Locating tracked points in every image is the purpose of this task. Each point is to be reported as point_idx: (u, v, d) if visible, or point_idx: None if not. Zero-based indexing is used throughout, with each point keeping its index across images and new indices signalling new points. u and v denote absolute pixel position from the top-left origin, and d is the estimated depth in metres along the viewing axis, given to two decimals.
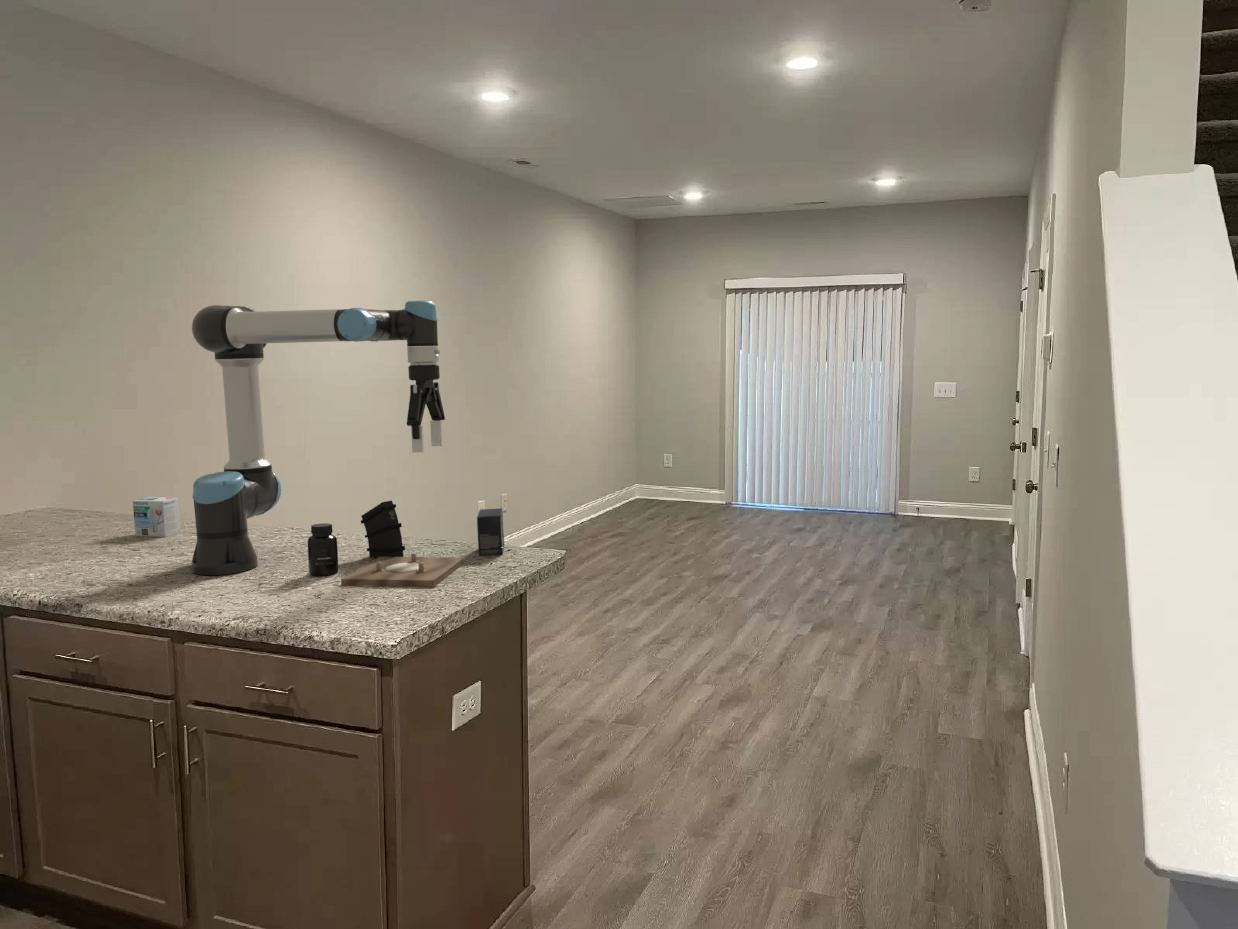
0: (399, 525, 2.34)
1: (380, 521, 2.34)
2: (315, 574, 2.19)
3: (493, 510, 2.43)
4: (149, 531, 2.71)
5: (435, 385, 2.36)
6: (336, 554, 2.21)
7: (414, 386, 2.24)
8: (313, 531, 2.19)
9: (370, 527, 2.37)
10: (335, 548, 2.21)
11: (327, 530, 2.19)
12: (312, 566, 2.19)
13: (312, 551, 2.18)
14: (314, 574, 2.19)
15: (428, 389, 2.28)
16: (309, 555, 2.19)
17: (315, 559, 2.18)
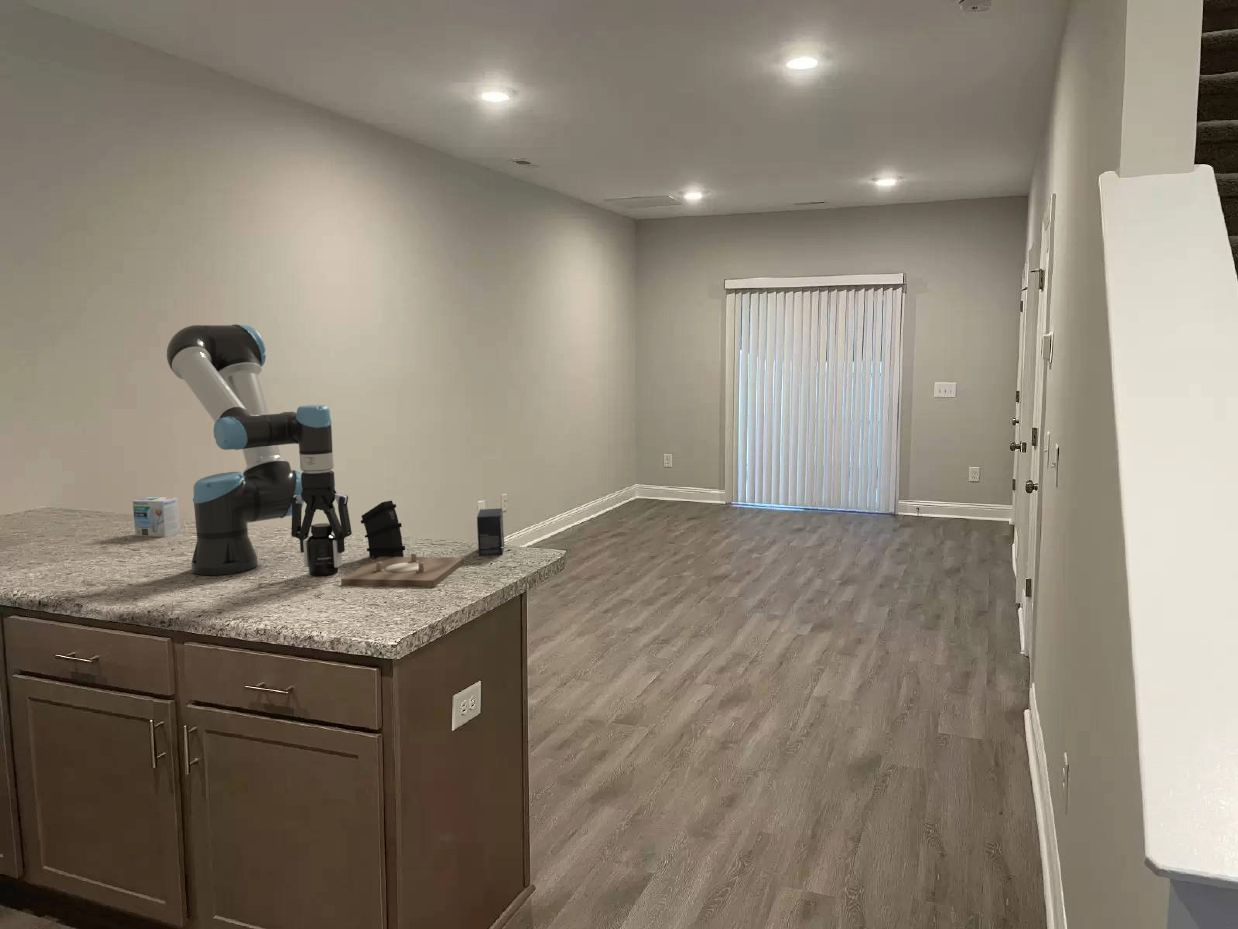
0: (399, 525, 2.34)
1: (380, 521, 2.34)
2: (315, 574, 2.19)
3: (493, 510, 2.43)
4: (149, 531, 2.71)
5: None
6: None
7: None
8: (313, 531, 2.19)
9: (371, 527, 2.37)
10: None
11: (327, 530, 2.19)
12: (312, 566, 2.19)
13: (312, 551, 2.18)
14: (314, 574, 2.19)
15: None
16: (309, 555, 2.19)
17: (315, 559, 2.18)
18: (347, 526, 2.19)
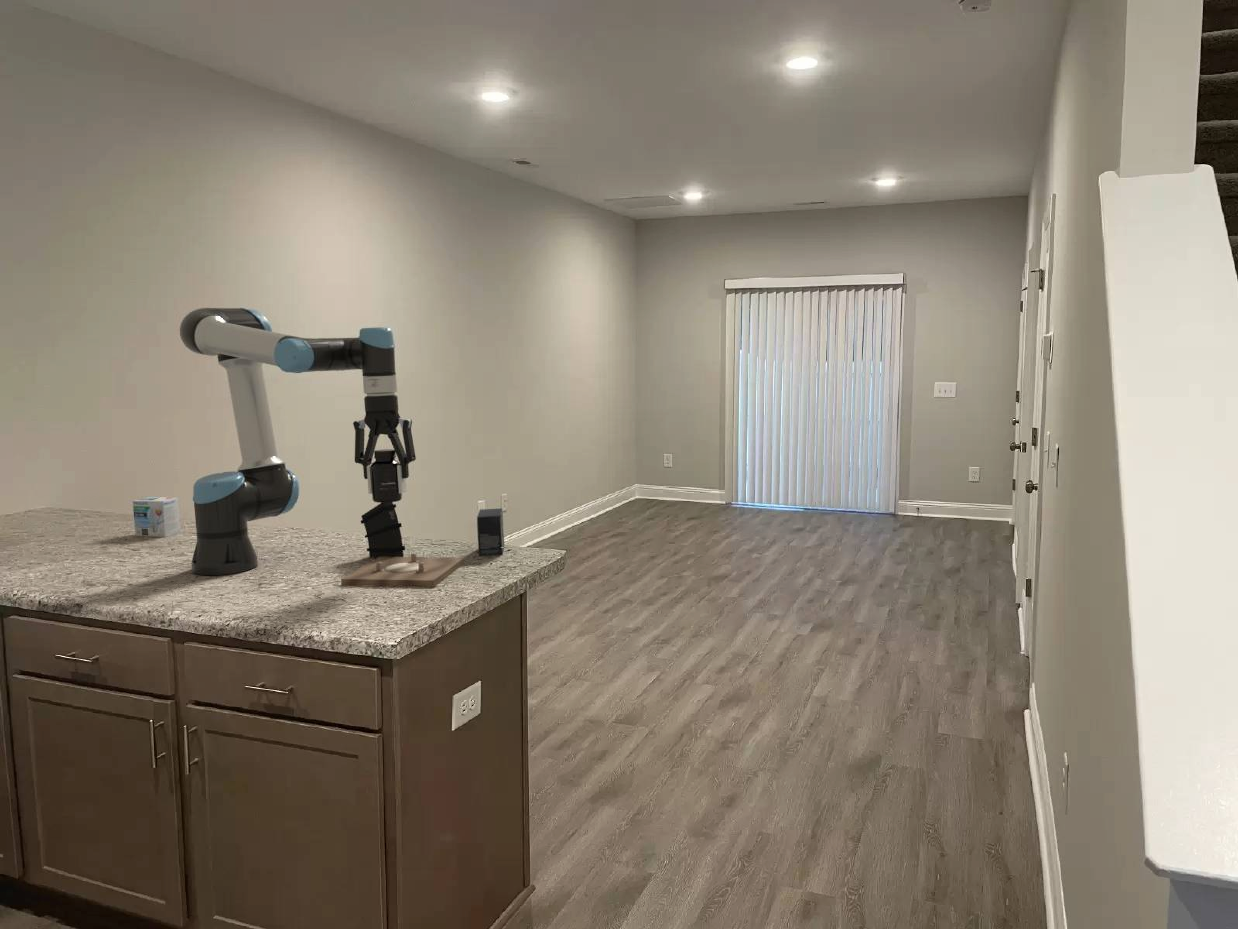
0: (399, 525, 2.34)
1: (380, 521, 2.34)
2: (379, 500, 2.14)
3: (493, 510, 2.43)
4: (149, 531, 2.71)
5: None
6: None
7: None
8: (377, 456, 2.15)
9: (370, 527, 2.37)
10: None
11: (391, 455, 2.15)
12: (376, 492, 2.14)
13: (376, 476, 2.14)
14: (378, 500, 2.15)
15: None
16: (373, 480, 2.15)
17: (379, 485, 2.14)
18: (411, 450, 2.15)
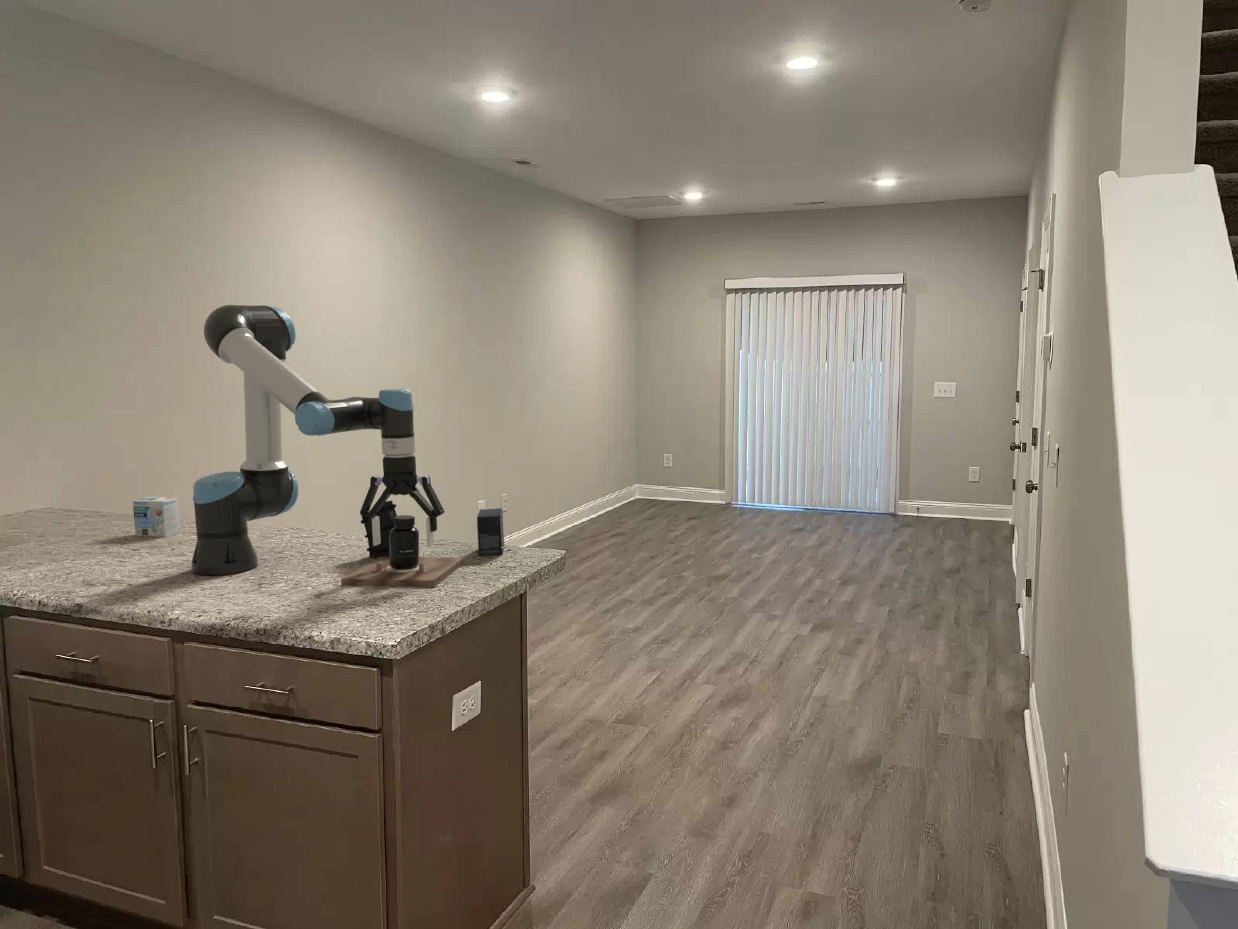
0: None
1: (380, 521, 2.34)
2: (397, 566, 2.17)
3: (493, 510, 2.43)
4: (149, 531, 2.71)
5: None
6: (418, 547, 2.19)
7: None
8: (396, 523, 2.16)
9: None
10: (417, 541, 2.18)
11: (411, 523, 2.17)
12: (394, 559, 2.17)
13: (395, 543, 2.16)
14: (396, 566, 2.17)
15: None
16: (391, 547, 2.17)
17: (397, 552, 2.16)
18: (438, 504, 2.16)
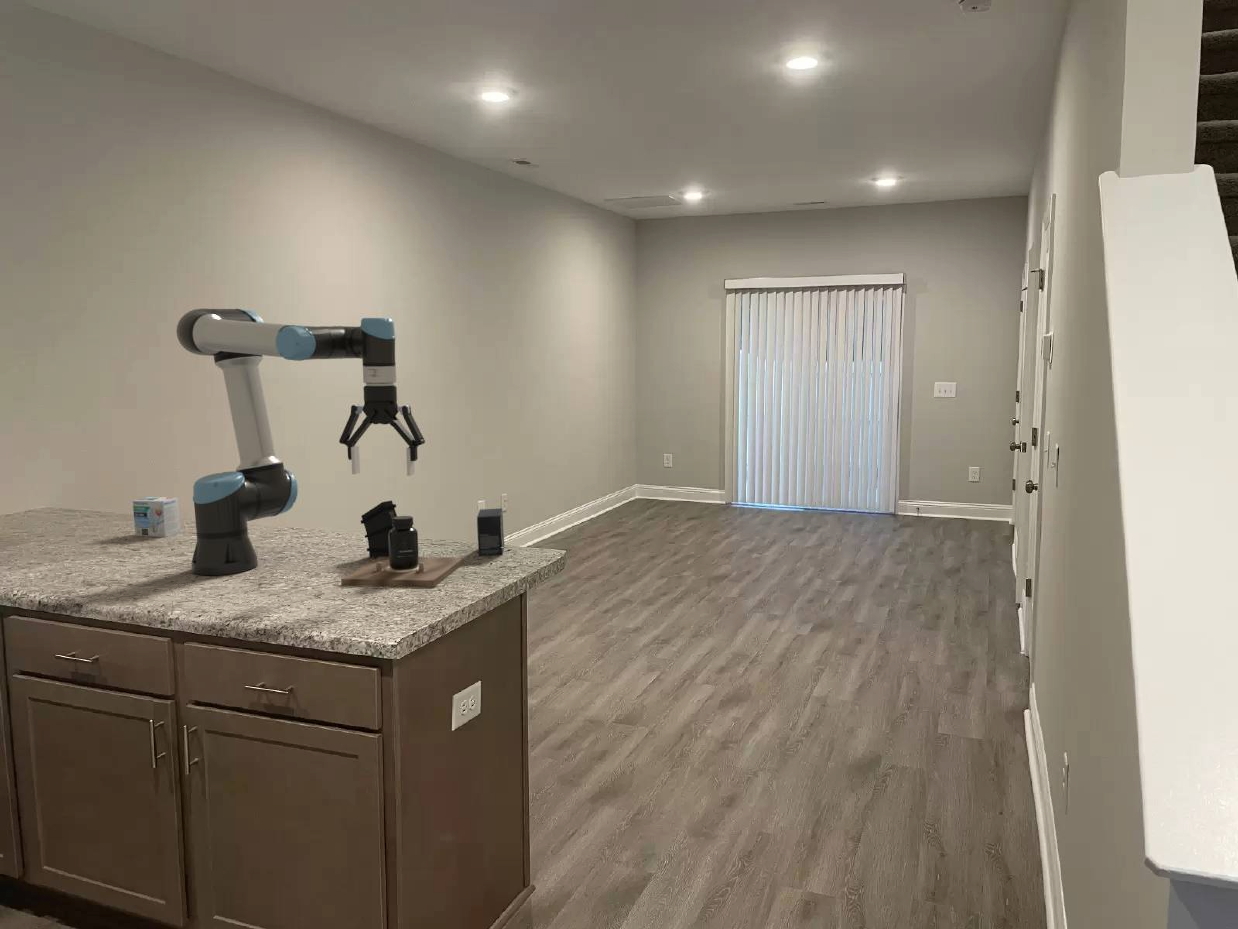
0: None
1: (380, 521, 2.34)
2: (397, 567, 2.17)
3: (493, 510, 2.43)
4: (149, 531, 2.71)
5: None
6: (417, 547, 2.19)
7: None
8: (395, 523, 2.17)
9: (370, 527, 2.37)
10: (416, 541, 2.18)
11: (409, 523, 2.17)
12: (394, 559, 2.17)
13: (394, 544, 2.16)
14: (396, 567, 2.17)
15: None
16: (390, 548, 2.17)
17: (397, 552, 2.16)
18: (418, 434, 2.16)
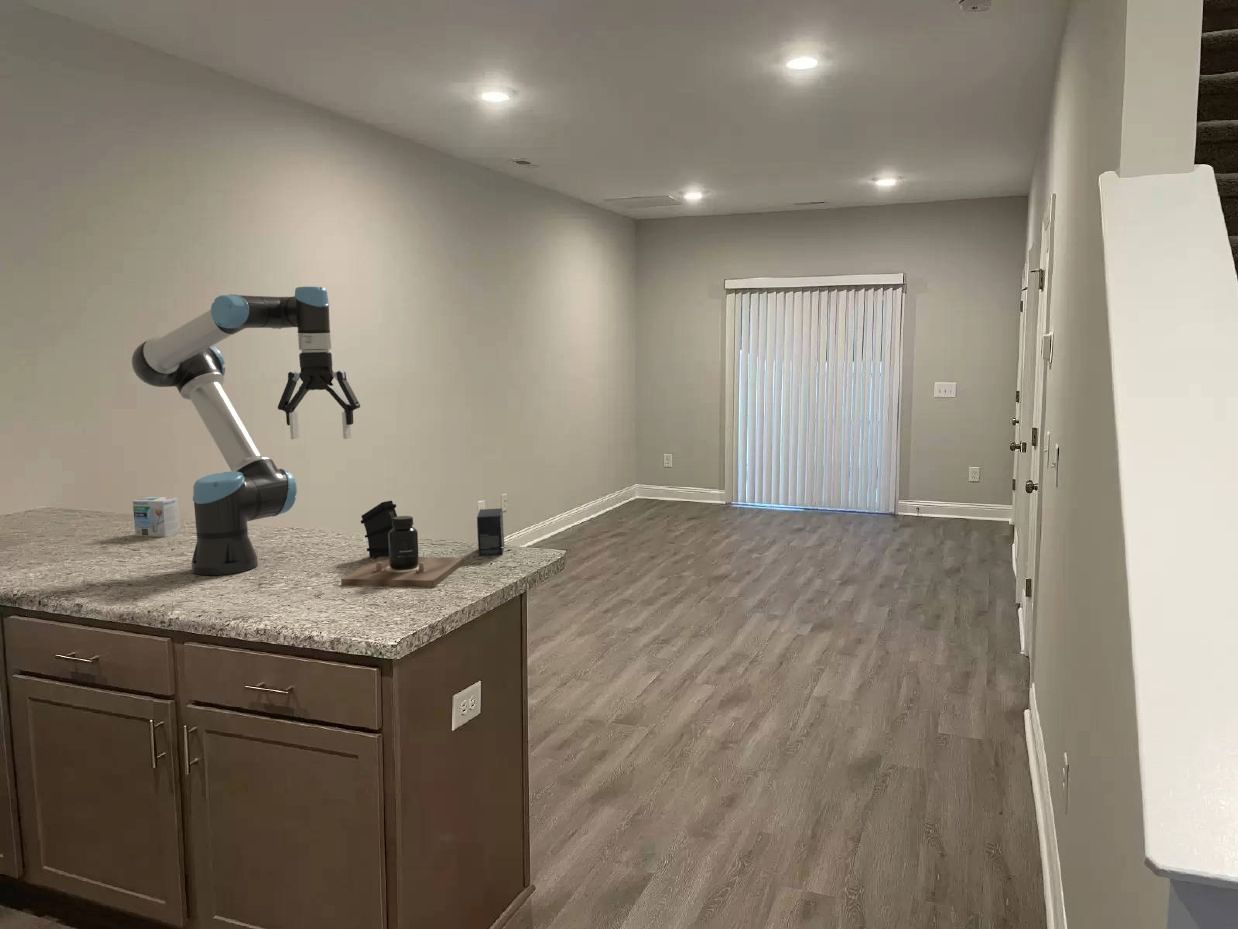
0: None
1: (380, 521, 2.34)
2: (397, 567, 2.17)
3: (493, 510, 2.43)
4: (149, 531, 2.71)
5: None
6: (417, 547, 2.19)
7: None
8: (395, 524, 2.17)
9: (370, 527, 2.37)
10: (416, 541, 2.18)
11: (409, 523, 2.17)
12: (394, 559, 2.17)
13: (394, 544, 2.16)
14: (396, 567, 2.17)
15: None
16: (390, 548, 2.17)
17: (397, 552, 2.16)
18: (353, 398, 2.24)
